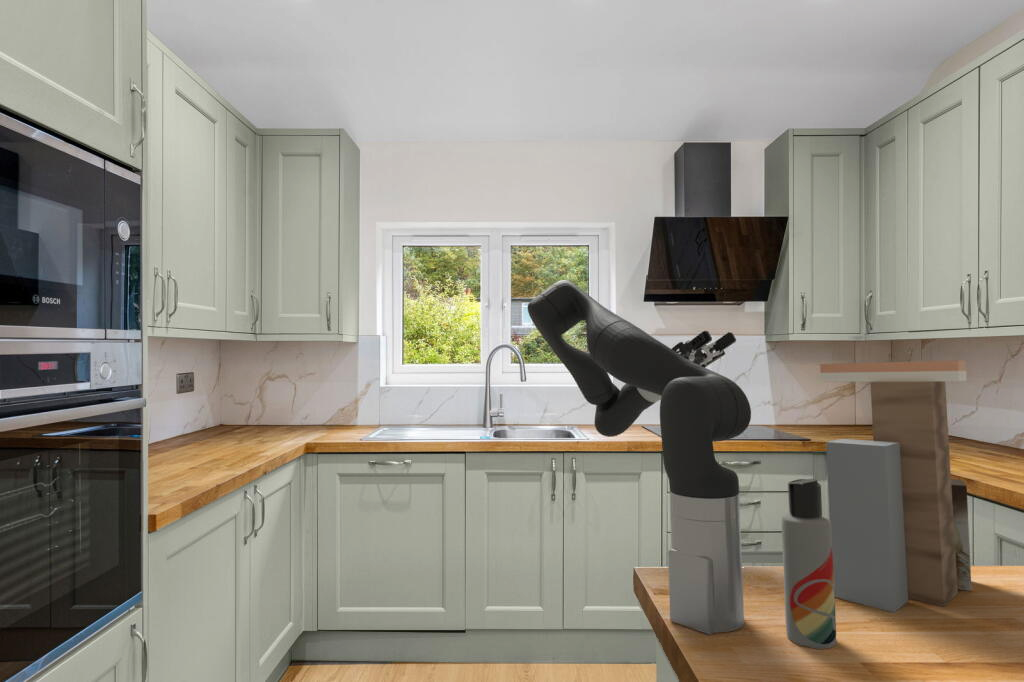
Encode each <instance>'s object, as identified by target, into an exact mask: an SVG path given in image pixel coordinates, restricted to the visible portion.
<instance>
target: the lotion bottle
mask: <svg viewBox="0 0 1024 682" xmlns="http://www.w3.org/2000/svg"><path fill="white" fill-rule="evenodd" d="M787 490H788V491H787V494H788V510H789V511H788V512H789V513H785V514H783V515H782V516H781V542H782V544H781V545H782V547H781V548H782V564H783V565H782V566H783V587H784V588H783V589H784V590H783V591H784V609H785V610H784V612H785V613H784V614H785V615H784V616H785V631H786V636H787V637H788V639H789V640H790V641H791V642H793V643H795V644H797V645H800V646H801V647H805V648H809V649H810V648H811V649H818V650H821V649H822V650H824V649H831V648H833V647H834V646H835V645H836V644H837V621H836V619H837V618H836V602H835V601H836V600H835V599H836V597H835V595H834V573H833V552H832V532H831V521H830V518H828V517H827V516H823V508H822V507H823V506H822V501H823V500H822V486H821V484H820V483H819V482H818V479H815V478H814V479H813V478H810V479H809V478H807V479H805V478H804V479H803V478H801V479H794V480H791V481H789V482H788V483H787Z"/></svg>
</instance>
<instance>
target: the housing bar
mask: <svg viewBox="0 0 1024 682" xmlns="http://www.w3.org/2000/svg"><path fill="white" fill-rule="evenodd" d="M819 365H820V366H819V368H820V370H819V371H820V382H821V383H836V382H837V383H838V382H839V383H842V382H843V383H845V382H848V383H852V382H854V383H855V382H858V383H860V382H861V383H862V382H863V383H865V382H866V383H870V382H924V381H945V382H967V368H966V367H967V366H966V365H967V364H966V360H929V361H927V360H925V361H924V360H922V361H920V360H919V361H888V362H887V361H885V362H884V361H883V362H882V361H881V362H845V363H842V362H840V363H820V364H819Z"/></svg>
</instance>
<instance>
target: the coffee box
mask: <svg viewBox="0 0 1024 682" xmlns="http://www.w3.org/2000/svg"><path fill="white" fill-rule="evenodd" d="M951 488H952V505H953V522H954V538H955V555H956V572H957V589H958V590H961V591H968V592H969V591H970V592H971V591H972V589H973V588H972V586H973V585H972V573H971V572H972V569H971V567H972V566H971V549H970V544H971V543H970V530H969V527H970V526H969V507H968V504H969V503H968V486H967V483H966V482H965V481H963V480H962V479H956V478H951Z"/></svg>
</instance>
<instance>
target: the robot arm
mask: <svg viewBox="0 0 1024 682" xmlns="http://www.w3.org/2000/svg"><path fill="white" fill-rule="evenodd" d="M527 313H528V315H529V317H530V320H531V321H532V323H533V325H534V327H535V328H536V329H537V331H538V332H539V333H540V335H541V337H542V338H543V339H544V341H545V342H546V343H547V345H548V346H549V347H550V349H551V350H552V351H553V352H554V354H555V355H556V356H557V357H558V359H559V360H560V362H561V364H563V365H564V367H565V368H566V370H567V371H568V372H569V373H570V375H571V377H572V378H573V380H574V381H575V383H576V385H577V386H578V388H579V390H580V392H581V394H582V395H583V397H584V399H585V400H586V401H587V402H588V403H589V404H590V405H594V406H595V414H594V427H595V430H596V431H597V432H598V433H599V434H600V435H602V436H604V437H610V438H611V437H616V436H619V435H621V434H623V433H625V432H626V431H627V430H628V429H629V428H630V427H631V426H632V425H633V424H634V422H635V421H636V420H637V419H638V418H639V417H640V416H641V414H642V413H643V412H644V411H645V410H647V409H648V408H650V407H651V406H653V405H654V404H656V403H657V402H659V401H660V405H659V424H660V435H661V437H660V438H661V448H662V449H661V450H662V460H663V467H664V470H665V472H666V473H665V474H666V475H667V478H668V485H669V514H670V517H669V518H670V519H669V520H670V547H671V548H670V549H669V550H668V551H667V559H668V560H667V561H668V564H667V565H668V595H669V600H668V602H669V620H670V621H671V622H673V623H676V624H679V625H682V626H685V627H687V628H690V629H692V630H696V631H699V632H701V633H704V634H706V635H713V634H714V633H727V632H732V631H736V630H739V629H741V628H742V627H744V623H745V615H744V614H745V613H744V612H745V611H744V588H743V587H744V586H743V585H744V583H743V563H742V561H743V560H742V559H743V557H742V541H741V540H742V537H741V511H740V508H741V507H740V506H741V505H740V483H739V481H740V480H739V476H738V474H737V472H736V471H734V470H733V469H730V468H728V467H725V466H722V465H721V464H719V462H718V461H717V460H716V457H715V450H714V449H715V448H714V442H715V443H716V442H722V441H728V440H731V439H734V438H736V437H738V436H740V435H741V434H743V433H744V432H745V431H746V429H748V427H749V426H750V423H751V420H752V419H751V418H752V408H751V405H750V402H749V400H748V397H747V395H746V394H745V392H744V391H743V389H742V388H741V387H740V386H739V385H738V384H737V383H736V382H734V380H732V379H730V378H729V377H726V376H725V375H723V374H720V373H717V372H715V371H713V370H711V369H709V368H707V367H708V366H710V365H711V364H713V363H714V362H715V361H717V360H719V359H721V358H722V357H723V356H725V355H726V352H725V350H726V349H727V348H729V347H730V346H732V345H733V344H735V343H736V342H737V339H736V337H735V335H734V334H733V332H732V331H731V332H730V331H729V332H726V334H724V335H722V336H721V337H720V338H719V339H717V340H715V341H714V342H712V340H713V337H712V335H711V334H710V331H708V330H703V331H702V332H700V333H698V334H697V335H696V336H695V337H694V338H692V339H690V340H686V341H685V342H683V341H680V342H678V343H677V344H675V345H674V346H673V347H669V346H667V345H666V344H664V343H663V342H661V341H660V340H658V339H656V338H654V337H653V336H652V335H650V334H649V333H647V332H646V331H644V330H643V329H642V328H640V327H638V326H636V325H635V324H633V323H632V322H631V321H628V320H627V319H625V318H623V317H621V316H619V315H617V314H616V313H614V312H612V311H611V310H609V309H608V308H606V307H604V305H602V304H601V303H599V301H597V300H596V299H595V298H593V297H592V296H590V295H589V294H588V293H587V292H585V290H583V289H581V287H579V286H578V285H576V284H575V283H573V282H572V281H570V280H567V279H561V280H557V281H556V282H554V283H553V284H551V285H550V286H549V287H548V288H546V289H545V290H544V291H542V292H541V293H539V294H538V295H535V297H534V298H533V299H532V300H530V301H529V302H528V304H527ZM582 321H585V323H586V345H587V351H588V352H587V351H585V350H582V349H580V348H577V347H575V346H573V345H571V344H569V343H568V342H567V341H566V340H565V339H564V338H563V336H562V335H565V334H566V333H567V332H568V331H570V330H571V329H573V328H574V327H575V326H576V325H577V324H579V323H581V322H582ZM711 342H712V343H711ZM709 343H710V344H709ZM610 376H612V377H613V378H615V379H616V380H618V381H619V382H622V383H623V384H624V385H623V386H622V387H621V389H619V388H618V387H617V385H615V384H614V383H613V381H612V379H611V377H610Z"/></svg>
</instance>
